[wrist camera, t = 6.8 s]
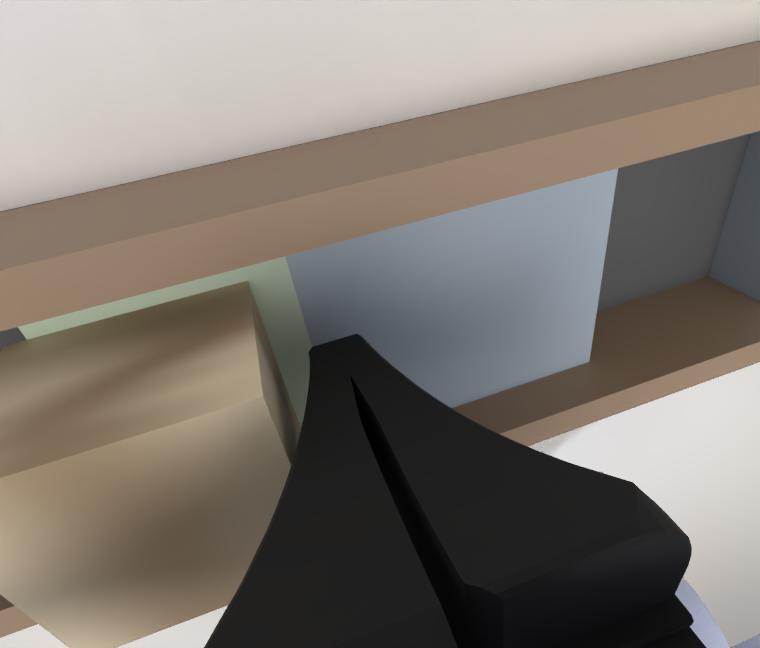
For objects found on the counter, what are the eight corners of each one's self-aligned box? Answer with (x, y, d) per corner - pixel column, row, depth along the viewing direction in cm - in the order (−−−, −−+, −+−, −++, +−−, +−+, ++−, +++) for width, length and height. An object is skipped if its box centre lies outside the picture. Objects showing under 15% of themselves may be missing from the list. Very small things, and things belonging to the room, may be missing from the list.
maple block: (247, 280, 10) (263, 396, 7) (302, 433, 13) (331, 565, 10) (4, 345, 9) (-108, 511, 6) (119, 492, 12) (84, 659, 9)
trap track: (809, 29, 14) (990, 28, 11) (725, 284, 19) (830, 336, 16) (-457, 314, 9) (-837, 475, 6) (-110, 556, 14) (-206, 712, 11)
